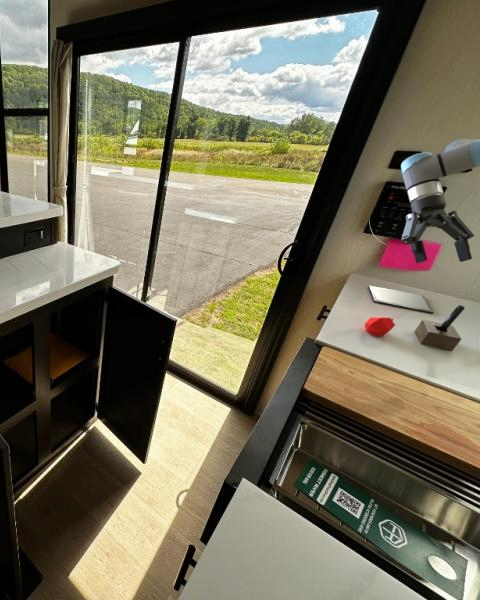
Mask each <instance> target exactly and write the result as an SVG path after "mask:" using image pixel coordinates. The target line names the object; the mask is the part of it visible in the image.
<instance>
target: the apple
mask: <svg viewBox="0 0 480 600" xmlns="http://www.w3.org/2000/svg"><path fill="white" fill-rule="evenodd" d="M395 326H396V324H395V323H394V318H391V317H387V316H386V317H385V316H379V317H377V316H376V317H369V318H368V319H367V321H365V323H364V328H365V329H364V330H365V331H366V332H367V333H368V334H370V335H371V336H374V337H375V336H377V337H385V336H386V335H388V333H389V332H391V331H392V330H393V329H394V327H395Z"/></svg>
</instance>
